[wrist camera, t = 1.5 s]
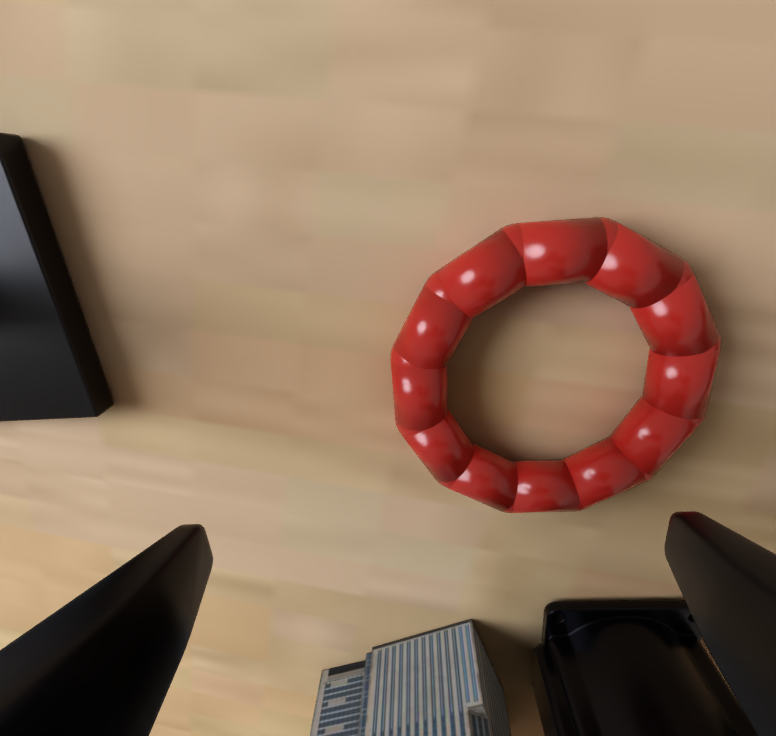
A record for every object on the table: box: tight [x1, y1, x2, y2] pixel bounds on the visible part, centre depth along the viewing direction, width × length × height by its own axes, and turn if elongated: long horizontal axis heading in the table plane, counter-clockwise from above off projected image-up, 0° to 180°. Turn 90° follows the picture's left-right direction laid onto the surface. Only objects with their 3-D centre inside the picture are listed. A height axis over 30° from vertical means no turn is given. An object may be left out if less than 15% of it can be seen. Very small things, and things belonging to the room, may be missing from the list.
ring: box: [391, 217, 722, 513], centre depth 14 cm, size 10×10×2 cm
